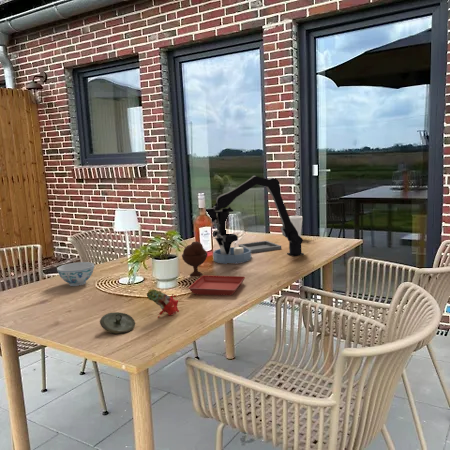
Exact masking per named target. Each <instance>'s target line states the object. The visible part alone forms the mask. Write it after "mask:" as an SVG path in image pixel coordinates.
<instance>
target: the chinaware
mask: <svg viewBox="0 0 450 450" xmlns="http://www.w3.org/2000/svg"><path fill="white" fill-rule="evenodd" d="M94 269H95V263H94V262H92V261H91V262H90V261H79V262H69V263H66V264H63V265H60V266H58V267H56V270H57V273H58V275H59V277H60V278H61V279H62V280H63V281H64V282H66V283H67V284H68V285H69V286H70V287H80V286H83V285H85V284H86V283H87V281H88V280H89V279H90V278H91V276H92V275H93V272H94ZM79 285H80V286H79Z"/></svg>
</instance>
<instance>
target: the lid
mask: <svg viewBox="0 0 450 450" xmlns="http://www.w3.org/2000/svg"><path fill="white" fill-rule="evenodd" d="M99 325H100V326H101V328H102V329H103V330H105V331H106V332H108V333H110V334H115V335H121V334H126V333H129V332H130V331H133V329H134V328H135V325H136V321H135V319H134V318H133V317H132V316H131V315H130V314H128V313H125V312H108V313H106V314H104V315H102V317H101V318H100V320H99Z"/></svg>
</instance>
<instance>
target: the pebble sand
mask: <svg viewBox="0 0 450 450" xmlns="http://www.w3.org/2000/svg"><path fill="white" fill-rule="evenodd" d="M235 247H236V248H234V255H237V254H243V253H244V249H243V247H239V246H235Z"/></svg>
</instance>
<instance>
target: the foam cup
mask: <svg viewBox="0 0 450 450" xmlns="http://www.w3.org/2000/svg"><path fill="white" fill-rule="evenodd" d="M289 218H290V221H291V222H292V224H293V225H294V227H295V228H296V230H297V232H298V235H299V236H300V237H301V238H302V236H301V235H302V227H303V216H302V215H290V216H289Z"/></svg>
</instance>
